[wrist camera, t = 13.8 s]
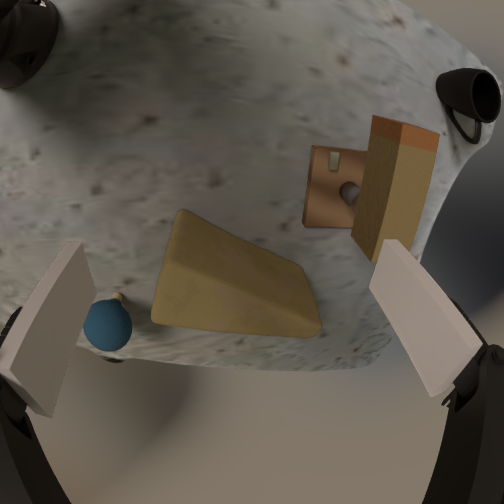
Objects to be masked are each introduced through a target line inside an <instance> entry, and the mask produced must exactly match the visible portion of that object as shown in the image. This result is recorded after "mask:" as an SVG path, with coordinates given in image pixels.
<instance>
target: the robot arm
mask: <svg viewBox="0 0 504 504" xmlns="http://www.w3.org/2000/svg"><path fill="white" fill-rule="evenodd" d="M57 29H58V14H57V11H56V8H55V6H54V5H53V4H52V3H51V2H50V1H49V0H0V88H10V87H15V86H18V85H20V84H22V83H24V82H26V81H27V80H28V79H30V78H31V77H32V76H33V75H34V74H35V73H36V72H37V71H38V70H39V68H40V67H41V66H42V65H43V63H44V62H45V60H46V58H47V57H48V55H49V53H50V51H51V49H52V47H53V44H54V41H55V38H56V34H57ZM369 289H370V291H371V292H372V294H373V295H374V297H375V299H376V300H377V302H378V303H379V305H380V307H381V308H382V310H383V312H384V313H385V315H386V317H387V318H388V320H389V322H390V323H391V325H392V327H393V329H394V330H395V332H396V334H397V335H398V337H399V339H400V341H401V342H402V344H403V346H404V348H405V349H406V351H407V353H408V355H409V357H410V359H411V361H412V362H413V364H414V366H415V368H416V370H417V372H418V374H419V376H420V377H421V379H422V381H423V383H424V385H425V387H426V389H427V391H428V393H429V395H430V397H432V396H435V395H438V394H440V393H443V392H445V391H446V389H447V388H448V387H449V386H450V385H451V384H452V383H454V385H455V388H454V390H453V391H452V392H451V393H450V394H449V395H448V396H447V397H446V398H445V399H444V400H443V402H442V404H441V405H443V406H444V405H445V404H446V403H447V401H448V400H449V399H450V403H449V404H448V405H447V407H448V408H449V411H448V416H447V421H446V425H445V430H444V434H443V439H442V443H441V447H440V451H439V454H438V458H437V461H436V465H435V468H434V471H433V474H432V477H431V481H430V483H429V486H428V489H427V492H426V494H425V497H424V500H423V502H422V504H504V349H503V348H502V347H500V346H499V345H495V344H493V345H488V344H487V343H486V341H485V340H484V338H483V337H482V336H481V334H480V333H479V331H478V330H477V329H476V327H475V326H474V325H473V323H472V322H471V321H470V320H469V318H468V317H467V315H466V314H465V313H463V310H462V309H461V308H460V306H459V305H458V304H457V303H456V302H455V301H454V300H452V299H451V298H450V297H449V296H447V295H446V294H445V293H444V292H443V290H441V288H440V287H439V286H438V284H437V283H436V282H435V281H434V280H433V279H432V277H431V276H430V275H429V274H428V273H427V272H426V271H425V269H424V268H423V267H422V266H421V265H420V264H419V263H418V261H417V260H416V259H415V258H414V257H413V256H412V255H411V254H410V253H409V252H408V250H407V249H406V248H405V247H404V246H403V245H402V244H401V243H400V242H399V241H398V240H396V239H384V242H383V245H382V248H381V252H380V255H379V258H378V261H377V264H376V267H375V270H374V273H373V276H372V279H371V282H370V285H369ZM96 294H97V292H96V288H95V285H94V282H93V279H92V276H91V272H90V269H89V266H88V262H87V258H86V255H85V251H84V247H83V243H82V242H67V244H66V245H65V246H64V248H63V249H62V250H61V252H60V253H59V254H58V256H57V257H56V258H55V260H54V261H53V263H52V264H51V265H50V267H49V268H48V270H47V271H46V273H45V274H44V276H43V277H42V278H41V280H40V281H39V283H38V284H37V286H36V288H35V289H34V291H33V292H32V294H31V295H30V297H29V299H28V300H27V302H26V303H25V305H24V307H19V308H18V309H17V310H16V311H15V312H14V313H13V314H12V315H11V317H10V318H9V320H8V322H7V323H6V325H5V328H4V329H3V330H2V332H1V336H0V504H71V502H70V501H69V499H68V497H67V496H66V494H65V492H64V491H63V489H62V487H61V485H60V484H59V482H58V480H57V478H56V476H55V475H54V473H53V471H52V469H51V467H50V465H49V463H48V461H47V459H46V457H45V454H44V452H43V450H42V448H41V445H40V443H39V441H38V438H37V436H36V434H35V431H34V429H33V426H32V423H31V421H30V418H29V416H28V415H27V413H26V412H25V410H26V407H27V405H28V406H29V407H30V408H31V409H32V410H33V411H34V412H35V413H36V414H39V415H43V416H46V417H50V418H52V417H53V413H54V409H55V406H56V402H57V399H58V395H59V392H60V389H61V385H62V382H63V379H64V376H65V373H66V370H67V367H68V364H69V361H70V358H71V356H72V353H73V350H74V348H75V345H76V342H77V340H78V337H79V334H80V332H81V329H82V327H83V324H84V322H85V320H86V317H87V315H88V312H89V310H90V308H91V305H92V303H93V301H94V298H95V296H96Z"/></svg>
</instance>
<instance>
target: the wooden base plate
mask: <svg viewBox="0 0 504 504" xmlns="http://www.w3.org/2000/svg"><path fill="white" fill-rule="evenodd" d="M366 157H367V152H366V151H359V150H352V149H344V148H335V147H326V146H316V145H312V150H311V158H310V167H309V175H308V183H307V190H306V198H305V205H304V212H303V219H302V223H303V225H304V226H305V227H353V223H354V219H355V215H354V214H353V212H352V210H351V202H352V200H353V198H354V197H355V196H356V195H357V194H359V193H360V190H361V185H362V180H363V174H364V169H365V163H366Z"/></svg>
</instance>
